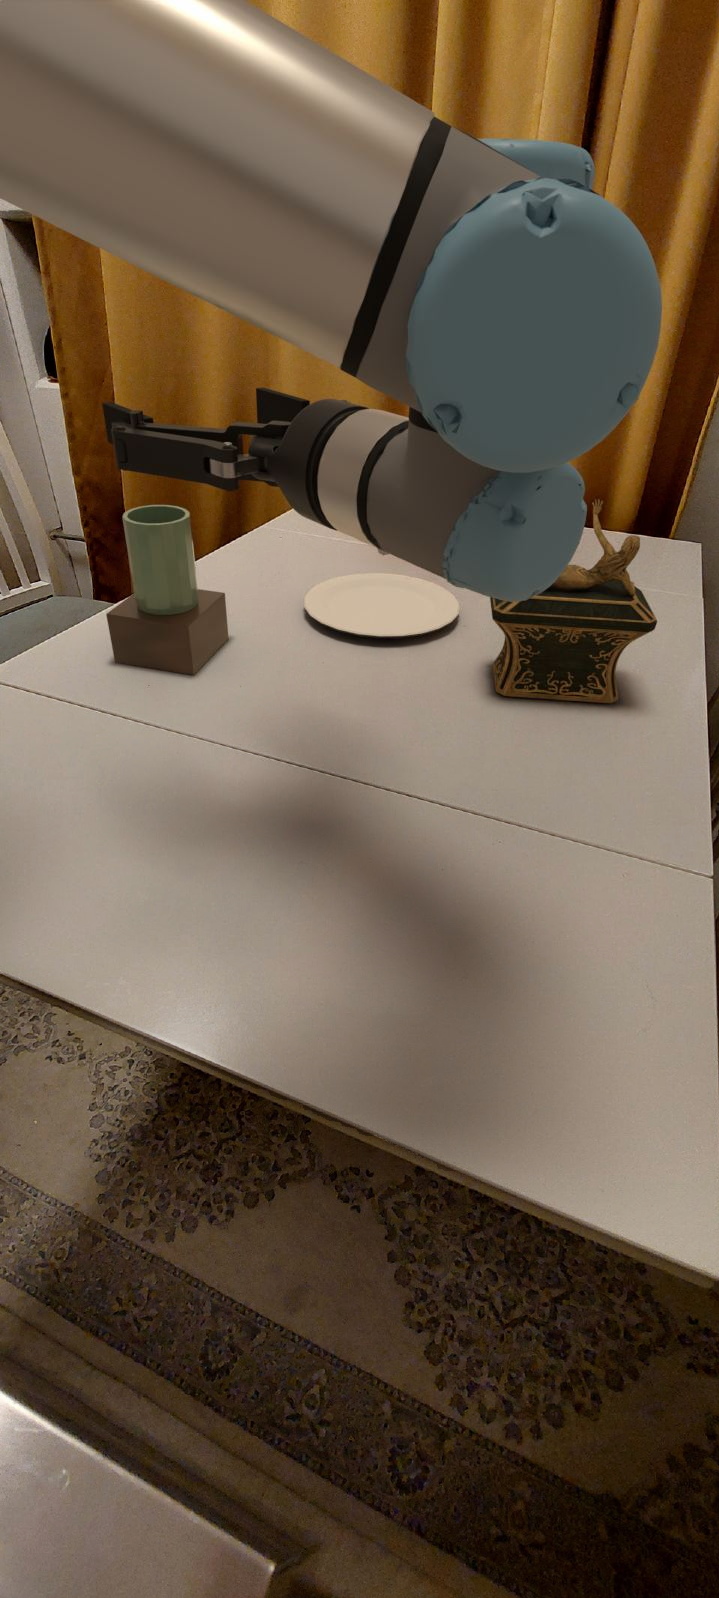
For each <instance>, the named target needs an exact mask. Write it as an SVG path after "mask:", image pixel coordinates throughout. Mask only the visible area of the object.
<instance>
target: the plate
mask: <svg viewBox="0 0 719 1598" xmlns="http://www.w3.org/2000/svg"><path fill="white" fill-rule="evenodd" d="M460 608H461V606H460V603H459V601H458V599H457V597H456V596H455V595H453V594H452V593H451V592H450V591H449V590H448V589H446V588H444V587H442V586H441V585H438V584H437V583H434V582H431V581H428V580H425V579H423V578H419V577H415V576H408V575H404V574H396V573H395V574H394V573H385V572H372V573H371V572H368V573H367V572H365V573H355V574H354V573H353V574H346V575H341V576H337V577H332V578H330V579H327V580H324V581H322V582H320V583H317V584H316V585H314V587H313V586H312V588H310V589H309V590H307V592H306V594H305V596H304V598H303V609H304V610H305V612H306V613H307V614H308V616H309V617H310V618H311V619H312V620H314V621H316V622H318V623H319V624H321V626H324V627H327V628H329V629H331V630H334V631H337V632H339V633H344V634H348V635H352V636H357V637H364V638H376V639H403V638H410V637H411V638H412V637H418V636H419V637H420V636H424V635H427V634H430V633H434V632H438V631H439V630H441V629H444V628H445V627H447V626H449V625H452V623H453V622H454V621H455V620H456V619H457V618H458V617H459V614H460Z"/></svg>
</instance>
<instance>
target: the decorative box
mask: <svg viewBox="0 0 719 1598" xmlns="http://www.w3.org/2000/svg"><path fill="white" fill-rule="evenodd" d="M602 506H603V500H601V501H600V498H598V499H594V502H592V526H593V531H594V534H595V537H596V538H597V540H598V543H599V544H600V546H601V548H602V549H603V555H602V556H601V557H600V559H599V560H598V561H597V562H596V563H595V565H594V566H592V568H590V569H587V568H586V567H583V566H581V565H578V564H568V565H567V567H566V569H565V570H564V571H563V573H562V574H561V575H560V576H559V577H558V579H557V580H556V581H555V582H554V583H553V584H552V585H551V586H550V587H548V588H547V589H546V590H544V591H543V592H542V593H540V594H538V595H536V596H534V597H531V598H529V599H527V600H525V601H518V602H509V601H504V600H500V599H497V598H494V597H489V600H490V601H489V602H490V609H491V619H492V620H493V622H494V623H495V624H496V625H497V627H498V628H499V629H500V630H501V631H502V632H503V635H504V642H503V645H502V648H501V651H500V652H499V653H498V655H497V656H496V659H495V660H494V661H493V663H492V668H493V678H494V688H495V692H496V693H498V694H500V695H502V696H504V697H514V698H515V697H516V698H528V699H542V700H543V699H544V700H555V701H569V702H571V701H572V702H584V703H585V702H586V703H599V704H613V703H614V702H617V701H618V699H619V695H618V686H617V675H616V673H617V665H618V661H619V659H620V657H621V655H622V653H623V652H624V650H625V649H626V648H627V647H628V646H629V645H630V644H631V643H632V642H634V641H636V640H638V639H639V638H642V637H643V636H646V635H647V634H649V633H651V632H653V631H655V630H656V628H657V624H658V619H657V617H656V616H655V613H654V612H653V609H652V608H651V606H650V604H649V602H648V600H647V598H646V596H645V595H644V593H643V591H642V590H641V589H640V588H639V587H637V586H636V585H635V583H634V581H632V580H631V576H630V574H629V572H628V570H627V568H628V566H629V565H630V564H631V563H632V561H634V559H635V558H636V556H637V554H638V553H639V550H640V548H641V537H640V536H639V535H636V534H631V535H629V536H627V537H626V538H625V539H624V541H623V542H622V544H621V547H620V549H619V550H618V551H616V549H615V548H614V546H613V545H612V544H611V543H610V541H609V540H608V539H607V538H606V536H605V535H604V533H603V530H602V525H601V523H600V520H599V514H600V512H601V511H602V508H603V507H602Z"/></svg>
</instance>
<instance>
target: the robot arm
mask: <svg viewBox="0 0 719 1598" xmlns="http://www.w3.org/2000/svg"><path fill="white" fill-rule="evenodd" d="M435 115H436V114H435V112H434V111H433V110H431V109H429V108H427V107H425V106H424V105H422V104H421V103H419V102H417V101H415V100H414V99H412V98H411V97H408V96H407V95H406V94H403V93H402V92H400V91H399V90H397V89H395V88H394V87H392V86H390V85H389V84H387V83H385V82H383V81H382V80H380V79H378V78H377V77H375V76H373V75H371V74H370V73H369V72H367V71H365V70H363V69H362V68H360V67H359V66H356V65H355V64H353V63H351V62H350V61H348V60H346V59H344V58H343V57H341V56H339V54H337V53H334V52H333V51H331V50H330V49H328V48H327V47H325V46H323V45H321V44H319V43H318V42H316V41H314V40H313V39H311V38H309V37H308V36H306V35H304V34H303V33H301V32H299V31H298V30H296V29H294V28H292V27H291V26H289V25H288V24H286V23H284V22H282V21H280V20H279V19H278V18H276V17H274V16H272V15H270V14H269V13H267V12H265V11H264V10H262V9H260V8H259V7H257V6H255V5H254V4H252V3H251V2H249V1H247V0H0V199H1V200H3V201H5V202H7V203H8V204H11V205H13V206H15V207H17V208H19V209H21V210H22V211H25V212H27V213H29V214H31V215H33V216H34V217H37V218H38V219H41V220H43V221H45V222H46V223H48V224H51V225H52V226H55V227H57V228H59V229H60V230H62V231H65V232H67V233H68V234H71V235H72V236H74V237H77V238H79V239H80V240H83V241H85V242H87V243H89V244H91V245H92V246H95V247H97V248H99V249H101V250H103V251H105V252H107V253H109V254H111V255H112V256H114V257H117V258H118V259H121V260H122V261H125V262H127V263H129V264H131V265H133V266H135V267H136V268H139V269H141V270H143V271H144V272H146V273H149V274H150V275H153V276H154V277H156V278H159V279H161V280H162V281H164V282H166V283H169V284H170V285H173V286H175V287H177V288H178V289H180V290H183V291H184V292H187V293H189V294H191V295H192V296H195V297H196V298H199V299H201V300H202V301H205V302H207V303H208V304H210V305H213V306H215V307H217V308H218V309H220V310H223V311H224V312H226V313H228V314H231V315H233V316H234V317H236V318H239V319H240V320H242V321H244V322H246V323H248V324H250V325H253V326H255V327H256V328H258V329H261V330H262V331H264V332H266V333H268V334H270V335H272V336H275V337H277V338H278V339H280V340H282V341H284V342H286V343H289V344H290V345H292V346H294V347H296V348H298V349H300V350H302V351H305V352H307V353H308V354H310V355H313V357H316V358H318V359H320V360H322V361H324V362H326V363H328V364H331V365H332V366H334V367H336V368H338V369H340V371H342V372H344V373H346V374H347V375H349V376H352V377H353V378H355V379H357V380H358V381H360V382H361V383H363V384H365V385H366V386H368V387H370V388H371V389H374V390H376V391H378V392H379V393H382V394H384V395H385V396H387V397H389V398H391V399H394V400H396V401H397V402H400V403H401V404H403V405H405V406H407V407H408V417H407V416H404V415H400V414H396V413H393V412H389V411H387V410H383V409H376V408H369V407H367V406H363V405H360V404H356V403H352V402H351V401H348V400H346V399H337V398H324V399H319V400H316V401H314V402H312V403H311V401H310V399H305V398H302V397H299V396H295V395H291V394H288V393H285V392H282V391H281V392H280V391H278V390H273V389H270V388H267V387H256V388H255V398H256V399H255V401H256V402H255V403H256V422H245V421H234V422H233V423H232V424H230V425H229V426H227V428H219V427H207V426H195V425H194V426H193V425H183V424H182V425H179V424H169V423H168V424H167V423H157V422H154V417H151V416H149V415H147V414H144V410H141V409H139V410H133V409H131V408H127V407H126V406H123V405H120V404H119V403H118V404H117V403H115V402H112V401H109V402H102V404H101V405H102V412H103V419H104V424H105V432H106V437H107V439H106V440H107V443H108V444H111V445H113V451H114V458H115V464H116V469H118V470H121V471H124V472H125V471H126V472H127V471H128V472H133V473H139V474H145V475H151V476H157V477H163V478H169V479H175V480H181V481H188V482H192V483H198V484H205V485H208V486H211V487H214V488H217V489H220V490H223V491H226V492H234V491H237V490H240V481H249V482H250V481H251V482H262V483H265V484H266V485H267V486H269V487H276V488H279V490H280V491H281V493H282V495H283V496H284V498H285V499H286V501H287V503H288V504H289V506H290V507H291V508H292V509H293V510H294V511H295V512H296V513H297V514H298V515H300V516H301V517H303V518H305V519H307V520H310V521H312V522H314V523H317V524H319V525H321V526H323V527H326V528H328V529H331V530H333V531H337V532H339V533H342V534H343V535H346V536H349V537H351V538H353V539H355V540H357V541H359V542H362V543H365V544H367V545H369V546H371V547H373V548H376V549H377V552H378V554H380V555H382V556H387V555H391V556H393V557H395V558H398V559H400V560H402V561H405V562H407V563H409V564H411V565H414V566H415V567H418V568H420V569H422V570H424V571H426V572H429V573H431V574H433V575H435V576H438V577H440V578H442V579H445V581H446V582H447V583H449V584H450V585H451V586H454V587H455V588H461V589H465V590H469V591H471V592H474V593H477V594H480V595H483V596H485V597H488V598H490V597H494V598H497V599H500V600H504V601H509V602H518V601H525V600H527V599H529V598H531V597H534V596H536V595H538V594H540V593H542V592H543V591H544V590H546V589H547V588H548V587H550V586H551V585H552V584H553V583H554V582H555V581H556V580H557V579H558V577H559V576H560V575H561V574H562V573H563V571H564V570H565V569H566V567H567V565H570V563H571V561H572V559H573V558H574V556H575V553H576V552H577V549H578V547H579V544H580V542H581V539H582V536H583V534H584V530H585V525H586V521H587V512H588V506H587V505H588V504H586V502H585V500H584V496H585V491H586V488H585V487H586V486H585V482H584V479H583V477H582V476H581V474H580V472H579V471H578V470H577V469H576V467H575V466H574V465H572V464H571V463H569V462H571V461H573V460H575V459H577V458H579V457H581V456H583V455H585V453H588V452H589V451H591V450H592V449H593V448H594V447H595V446H597V445H598V444H600V443H601V442H602V441H604V440H605V439H606V438H607V437H608V436H609V435H610V433H611V432H612V431H614V430H615V429H616V428H617V426H618V425H619V424H620V423H621V421H622V420H623V419H624V418H625V416H626V415H627V414H628V413H629V411H631V408H632V407H633V406H634V405H635V404H636V403H637V401H638V400H639V397H640V396H641V392H642V391H643V388H644V386H645V385H646V382H647V380H648V377H649V375H650V372H651V370H652V367H653V364H654V361H655V357H656V354H657V351H658V348H659V342H660V336H661V328H662V314H663V299H662V288H661V286H662V285H661V283H660V279H659V276H658V271H657V267H656V262H655V261H654V258H653V256H652V253H651V250H650V248H649V246H648V244H647V242H646V240H645V238H644V237H643V234H642V233H641V232H640V230H639V229H638V227H637V226H636V224H634V222H633V221H632V219H630V217H628V216H627V215H626V214H625V213H624V212H623V211H622V210H621V209H620V208H619V207H617V206H616V205H614V204H613V203H612V202H610V201H609V200H607V199H606V198H605V197H603V196H602V195H601V194H599V193H598V192H596V191H594V182H595V176H596V173H595V172H596V171H595V169H596V168H595V163H594V160H593V158H592V156H591V154H590V153H589V152H588V150H586V149H584V148H583V147H581V146H577V145H575V144H571V143H566V142H561V141H552V140H542V139H525V138H522V139H521V138H477V137H475V136H473V135H472V134H469V133H467V132H464V131H462V130H460V129H458V128H456V127H454V126H452V125H451V124H448V123H447V122H445V121H443V120H442V119H439V118H438V117H436V116H435ZM244 435H247V436H250V439H249V444H248V449H247V454H244V438H243V437H244Z"/></svg>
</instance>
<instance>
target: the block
mask: <svg viewBox="0 0 719 1598" xmlns="http://www.w3.org/2000/svg"><path fill="white" fill-rule="evenodd" d="M198 600H199V602H198V604H197V606H196V607H195V608H193V609H191V610H189V611H187V612H184V613H180V614H174V615H154V614H149V613H145V612H143V611H141V610H140V609H139V608H138V607H137V604H136V601H135V595H134V593H132V594H131V595H130V596H128V597H127V598H126V599H124V600H123V601H121V602H120V603H118V604H117V605H116V606H115V607H114V608H112V609H111V610H109V611H108V612H106V615H105V616H106V621H107V626H108V627H107V628H108V632H109V637H110V638H109V639H110V642H111V648H112V653H113V659H114V663H117V664H123V665H129V666H136V667H141V668H147V669H153V670H161V671H166V672H172V673H179V674H183V675H191V676H194V675H196V673H198V672H199V670H200V669H202V667H203V666H204V665H205V664H207V662H208V661H209V660H210V659H211V658H212V657H213V656H214V655H215V654H216V653H217V652H218V651H219V650H220V648H221V647H223V646H224V644H226V642H227V641H228V640H229V639H230V638H229V627H228V615H227V603H226V601H227V600H226V593H225V592H222V591H214V590H208V589H207V590H206V589H200V588H198Z"/></svg>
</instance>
